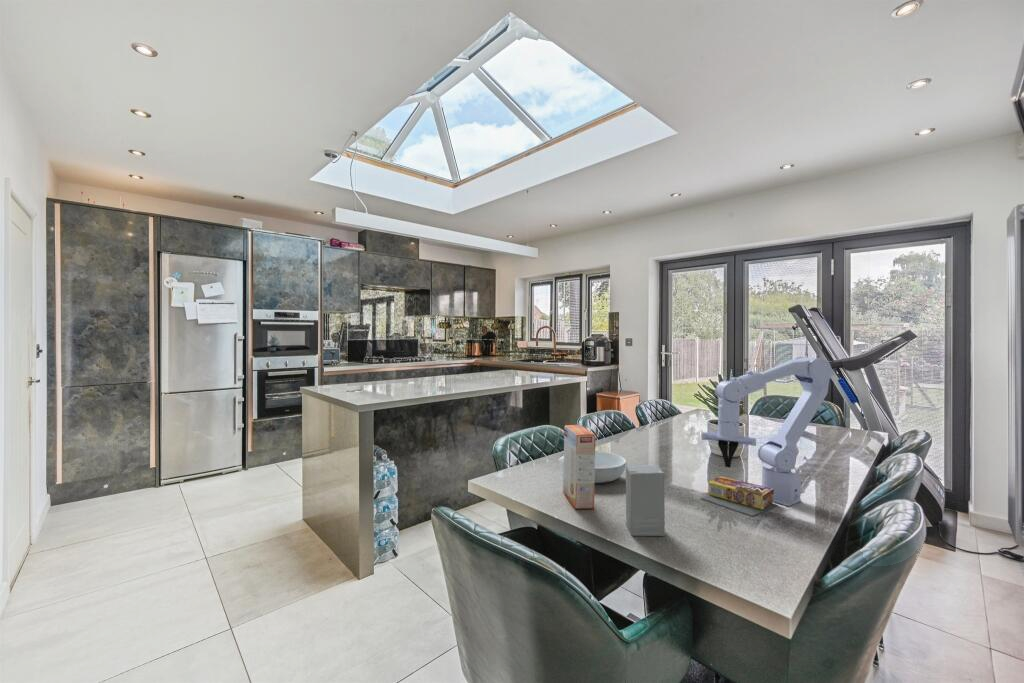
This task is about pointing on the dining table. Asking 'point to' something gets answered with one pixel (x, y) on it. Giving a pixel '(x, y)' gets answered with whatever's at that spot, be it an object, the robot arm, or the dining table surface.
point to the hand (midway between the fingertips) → (727, 466)
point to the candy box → (741, 492)
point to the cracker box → (579, 466)
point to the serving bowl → (608, 466)
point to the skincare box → (645, 500)
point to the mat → (737, 506)
